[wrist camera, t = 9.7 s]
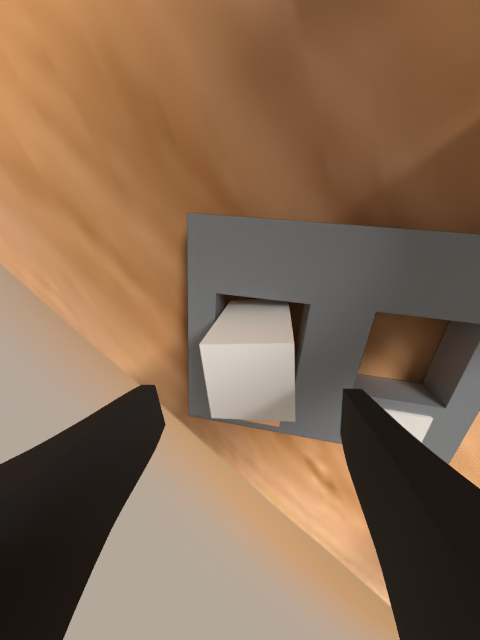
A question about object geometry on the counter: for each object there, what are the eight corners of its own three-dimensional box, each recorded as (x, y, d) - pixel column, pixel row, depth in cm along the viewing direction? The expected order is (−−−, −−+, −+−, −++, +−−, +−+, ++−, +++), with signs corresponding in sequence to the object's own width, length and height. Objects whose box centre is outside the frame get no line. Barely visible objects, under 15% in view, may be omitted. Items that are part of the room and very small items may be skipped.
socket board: (522, 239, 13) (582, 241, 10) (426, 433, 18) (451, 466, 15) (201, 215, 15) (185, 212, 12) (199, 394, 20) (187, 417, 17)
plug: (288, 297, 16) (294, 342, 9) (289, 350, 17) (295, 421, 11) (230, 300, 16) (199, 344, 10) (236, 350, 18) (211, 418, 11)
